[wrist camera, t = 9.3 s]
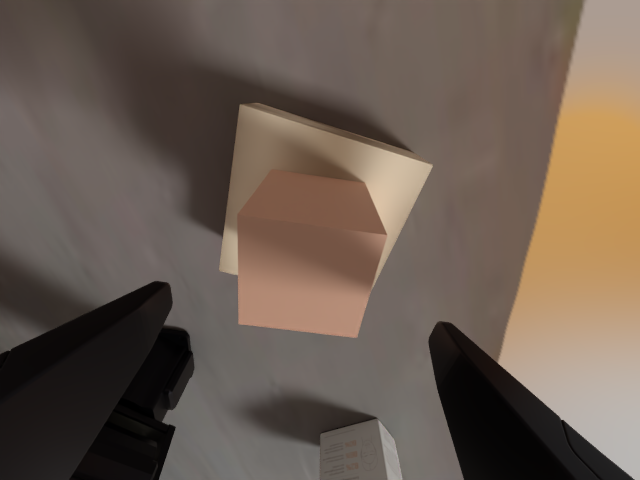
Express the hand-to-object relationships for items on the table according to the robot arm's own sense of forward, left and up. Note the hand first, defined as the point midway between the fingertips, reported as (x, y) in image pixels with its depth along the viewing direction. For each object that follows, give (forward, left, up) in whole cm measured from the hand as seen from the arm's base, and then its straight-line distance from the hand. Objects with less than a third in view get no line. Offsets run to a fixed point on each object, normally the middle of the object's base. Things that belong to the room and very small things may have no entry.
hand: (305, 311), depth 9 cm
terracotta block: (0, 0, -7) cm, 7 cm away
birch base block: (0, 0, -11) cm, 11 cm away
